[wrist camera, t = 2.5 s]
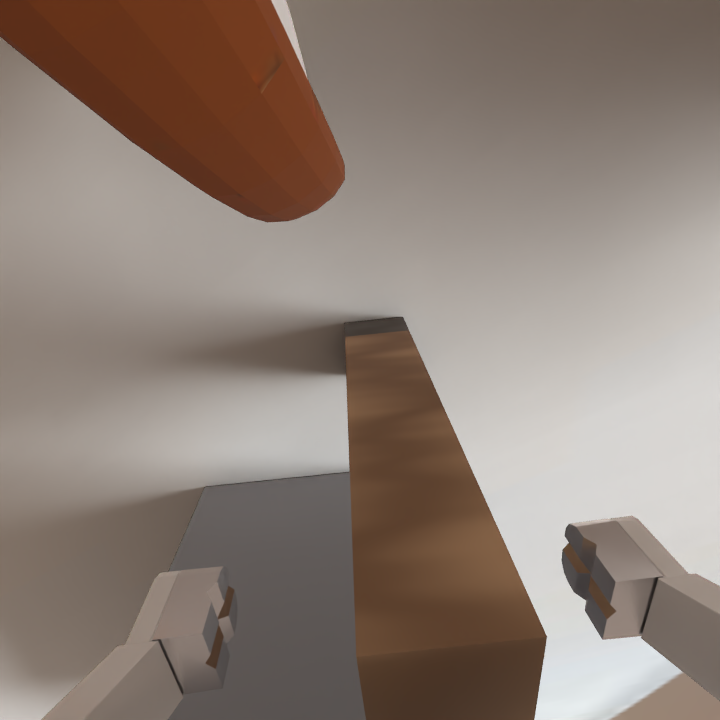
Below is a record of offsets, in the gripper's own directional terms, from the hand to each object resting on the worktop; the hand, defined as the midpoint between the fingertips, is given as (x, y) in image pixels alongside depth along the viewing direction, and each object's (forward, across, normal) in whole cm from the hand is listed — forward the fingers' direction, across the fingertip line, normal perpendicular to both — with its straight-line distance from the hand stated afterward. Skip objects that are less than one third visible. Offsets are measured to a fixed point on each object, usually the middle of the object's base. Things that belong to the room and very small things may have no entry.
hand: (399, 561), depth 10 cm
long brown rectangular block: (+13, -1, 0) cm, 13 cm away
